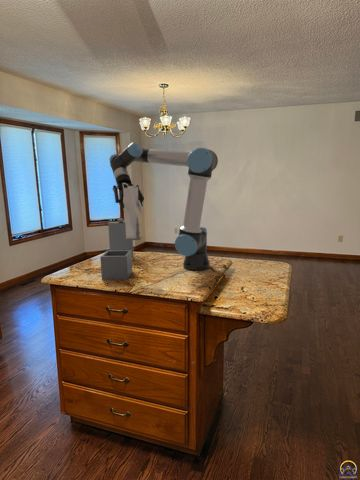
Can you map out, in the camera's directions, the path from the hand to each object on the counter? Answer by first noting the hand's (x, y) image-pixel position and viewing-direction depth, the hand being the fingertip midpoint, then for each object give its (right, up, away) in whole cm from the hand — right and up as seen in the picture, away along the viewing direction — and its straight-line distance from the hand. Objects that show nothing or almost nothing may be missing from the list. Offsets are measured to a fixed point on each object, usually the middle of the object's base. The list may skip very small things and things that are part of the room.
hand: (134, 212), depth 158 cm
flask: (-15, -25, +52) cm, 60 cm away
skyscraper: (-2, -13, +6) cm, 14 cm away
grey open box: (-10, -32, +12) cm, 36 cm away
